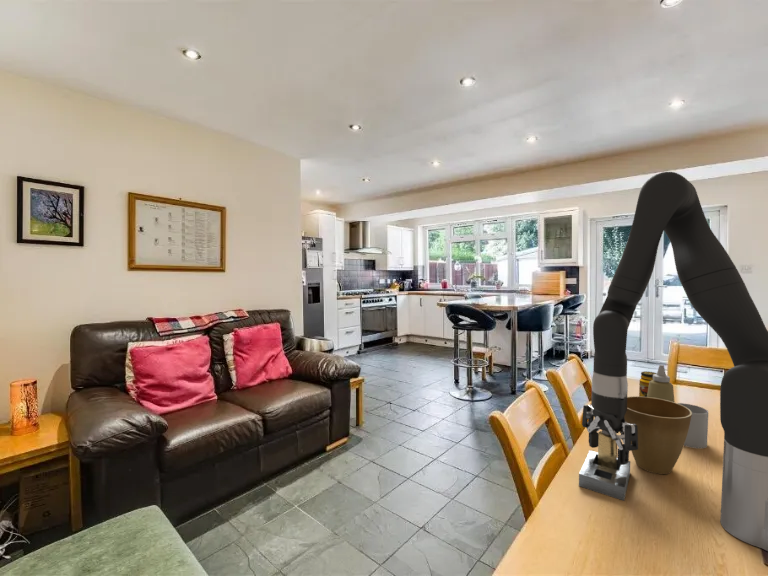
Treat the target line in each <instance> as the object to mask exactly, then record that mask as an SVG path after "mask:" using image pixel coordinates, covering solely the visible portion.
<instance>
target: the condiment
mask: <svg viewBox="0 0 768 576" xmlns="http://www.w3.org/2000/svg"><path fill="white" fill-rule="evenodd" d="M654 374H657V372H652V371H641V373H640V378H639V386H638V389H639V390H638V396H640V397H647V393H648V387H649V382H650V381H651V380H653V375H654Z"/></svg>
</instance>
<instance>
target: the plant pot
mask: <svg viewBox="0 0 768 576" xmlns="http://www.w3.org/2000/svg"><path fill="white" fill-rule="evenodd" d="M678 403H679V402H671V401H668V400H663V399H658V398H652V397H640V396H639V395H637V396H636V395H635V396H627V412H626V414H625V416H624V418H625V421H626V422H627V423H629V424H636V425H637V427H638V450H632V451H631V454H632V457H633V458H634V461H635V464H636V465H637V466H638V467H639V468H641V469H643V470H644V471H647V472H650V473H653V474H659V475H668V474H671V472H672V471H673V469H674V467H675V466H676V464H677V462H678V460H679V458H680V456H681V454H682V451H683V448H684V447H685V446H684V443H685V440H686V437H687V434H688V430H689V426H690V421H691V416H692V412H691V410H690V409H688V408H687V407H685V406H683V405H680V404H678ZM631 444H632V441H631Z"/></svg>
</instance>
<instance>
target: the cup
mask: <svg viewBox="0 0 768 576" xmlns="http://www.w3.org/2000/svg"><path fill="white" fill-rule="evenodd" d="M677 403H678V404H680V405H683V406H685V407H687V408H688V409H690V410H691V412H692V416H691V421H690V426H689V430H688V434H687V437H686V440H685V443H684V446H683V447H686V448H691V449H692V448H693V449H705V448H707V447H708V435H709V434H708V432H709V431H708V429H709V411H708V410H707V409H706V408H704V407H701V406H698V405H694V404H690V403H684V402H683V403H682V402H677Z"/></svg>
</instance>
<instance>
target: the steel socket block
mask: <svg viewBox="0 0 768 576" xmlns="http://www.w3.org/2000/svg"><path fill="white" fill-rule="evenodd" d="M630 475H631V460H629V462H628V463H627V464H625V465H620V464H618V463H617V470H615V469H611V468H608V467H604V466H601V465H598V451H593V450H588V453H587V455H586V457H585V460H584V462H583V464H582V466H581V469H580V470H579V473H578V487H581V488H583V489H587V490H590V491H592V492H595V493H598V494H602V495H605V496H608V497H612V498H614V499H618V500H620V501H625V499H626V494H627V490H628V485H629V480H630Z"/></svg>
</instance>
